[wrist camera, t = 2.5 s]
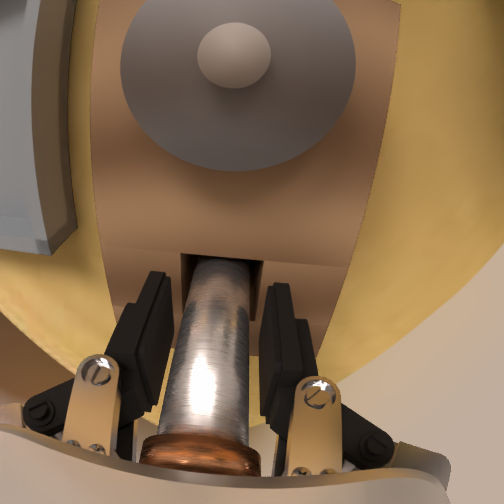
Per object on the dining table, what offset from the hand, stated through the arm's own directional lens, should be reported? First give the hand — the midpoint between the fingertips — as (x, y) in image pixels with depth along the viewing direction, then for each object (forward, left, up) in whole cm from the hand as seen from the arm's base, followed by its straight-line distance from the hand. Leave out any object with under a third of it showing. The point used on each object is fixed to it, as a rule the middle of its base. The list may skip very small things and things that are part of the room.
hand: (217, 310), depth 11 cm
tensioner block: (-4, 0, -7) cm, 8 cm away
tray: (-8, -17, -7) cm, 20 cm away
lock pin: (0, 0, -6) cm, 6 cm away
